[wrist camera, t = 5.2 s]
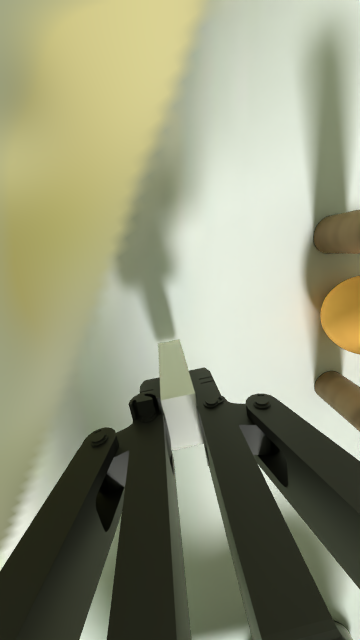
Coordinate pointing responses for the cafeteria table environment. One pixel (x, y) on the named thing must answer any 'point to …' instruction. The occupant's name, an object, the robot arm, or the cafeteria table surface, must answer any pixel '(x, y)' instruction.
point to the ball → (343, 315)
